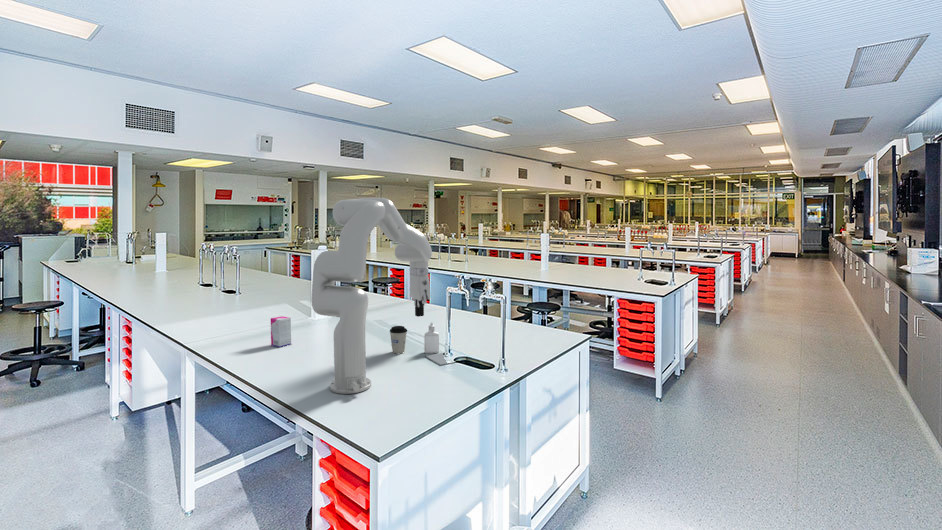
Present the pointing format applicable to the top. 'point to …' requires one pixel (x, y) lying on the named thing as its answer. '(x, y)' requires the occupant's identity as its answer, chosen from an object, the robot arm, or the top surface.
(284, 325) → the supplement box
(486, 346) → the top surface
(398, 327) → the coffee cup
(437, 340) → the eye dropper bottle
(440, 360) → the mat
